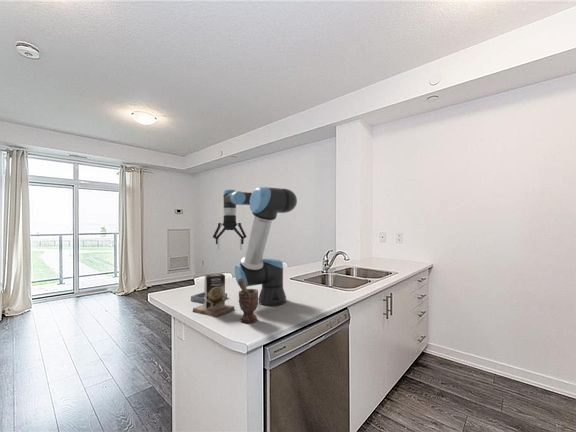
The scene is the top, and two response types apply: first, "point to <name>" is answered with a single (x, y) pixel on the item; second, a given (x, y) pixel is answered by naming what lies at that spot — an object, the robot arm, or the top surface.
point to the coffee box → (214, 291)
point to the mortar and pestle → (247, 302)
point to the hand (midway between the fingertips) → (229, 249)
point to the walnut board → (213, 312)
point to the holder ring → (200, 297)
